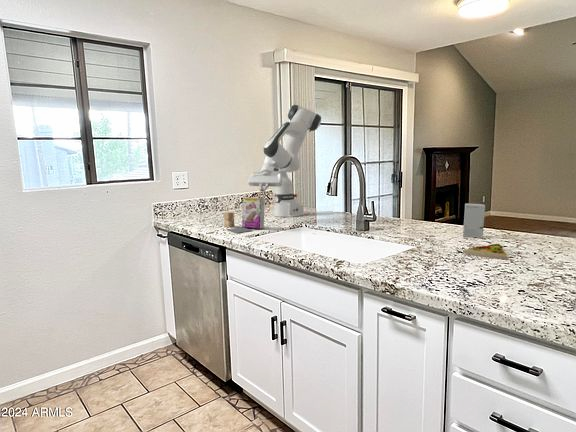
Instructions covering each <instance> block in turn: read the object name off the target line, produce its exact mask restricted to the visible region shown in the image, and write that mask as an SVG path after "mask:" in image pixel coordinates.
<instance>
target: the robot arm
mask: <svg viewBox="0 0 576 432" xmlns="http://www.w3.org/2000/svg"><path fill="white" fill-rule="evenodd" d="M287 119H289V121H286V122H284V123H283V124H282V125H280V127H279V128H278V129H277V130H276V132H275V133H274V134H273V136H272V137H271V138H270V139H269V140H267V142H266V143H264V145H263V154H264V155H265V158H264V160H263V165H262V166H261V170H260V172H253V173H251V174H250V177H249V178H248V180H247V183H248V185H249V186H250V187H259V192H264V193H265V192H266V191H267V189H269V187H271V188H272V187H274V189H275V190H274V193H275V194H274V204H275V205H274V212H273V217H277V218H278V217H280V218H292V217H293V218H294V217H299V216H304V215H307V214H308V212H306V211H304V210H305V209H304V206H303V204H302V203H301V202H299V201H298V200H297V199H295V198H297V197H298V195H299V194H298V193H297V194H296V193H293V181H292V179H291V178H290V177H289V176H288V174H287V173H293V172H297V171H298V170H299V169H300V168H301V159H300V158H299V152H300V150H301V148H302V145H303V143H304V141H305V139H306V136H307V133H308V131H309V133H311V132H313V131H316V130H317V129H318V128H319V127H320V126H321V123H322V116H321V115H319V113H315V112H314V111H312V110H310V109H308V108H306V107H303V106H300V105H298V104H293V105H292V106H290V108H288V111H287ZM285 135H287V136H286V138H285V139H284V142H283V144H282V145H281V142H280V141H281V140H282V138H283V137H284V136H285Z"/></svg>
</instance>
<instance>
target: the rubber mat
mask: <svg viewBox="0 0 576 432" xmlns="http://www.w3.org/2000/svg"><path fill="white" fill-rule="evenodd" d="M225 230H226V231H227V230H228V232H230V231H231V233H234V234H242V233H249V232H254V230H253V229H251V228H243V227H242V226H241V227H236V228H235V227H232V228H228V229H225Z"/></svg>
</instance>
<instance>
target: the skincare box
mask: <svg viewBox="0 0 576 432" xmlns="http://www.w3.org/2000/svg"><path fill="white" fill-rule="evenodd" d="M485 213H486V205H485V204H482V203H464V216H463V218H464V219H463V229H462V237H463V238H470V237H477V238H476V239H483V236H484V224H485Z"/></svg>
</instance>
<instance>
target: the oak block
mask: <svg viewBox="0 0 576 432" xmlns="http://www.w3.org/2000/svg"><path fill="white" fill-rule="evenodd" d="M223 222H224V223H223V225H224V228H227V227H228V229H230V228H229V227H231V228H235V227H234V226H235V212H233V211H232V212H231V211H227V212H226V211H225V212H223Z"/></svg>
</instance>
